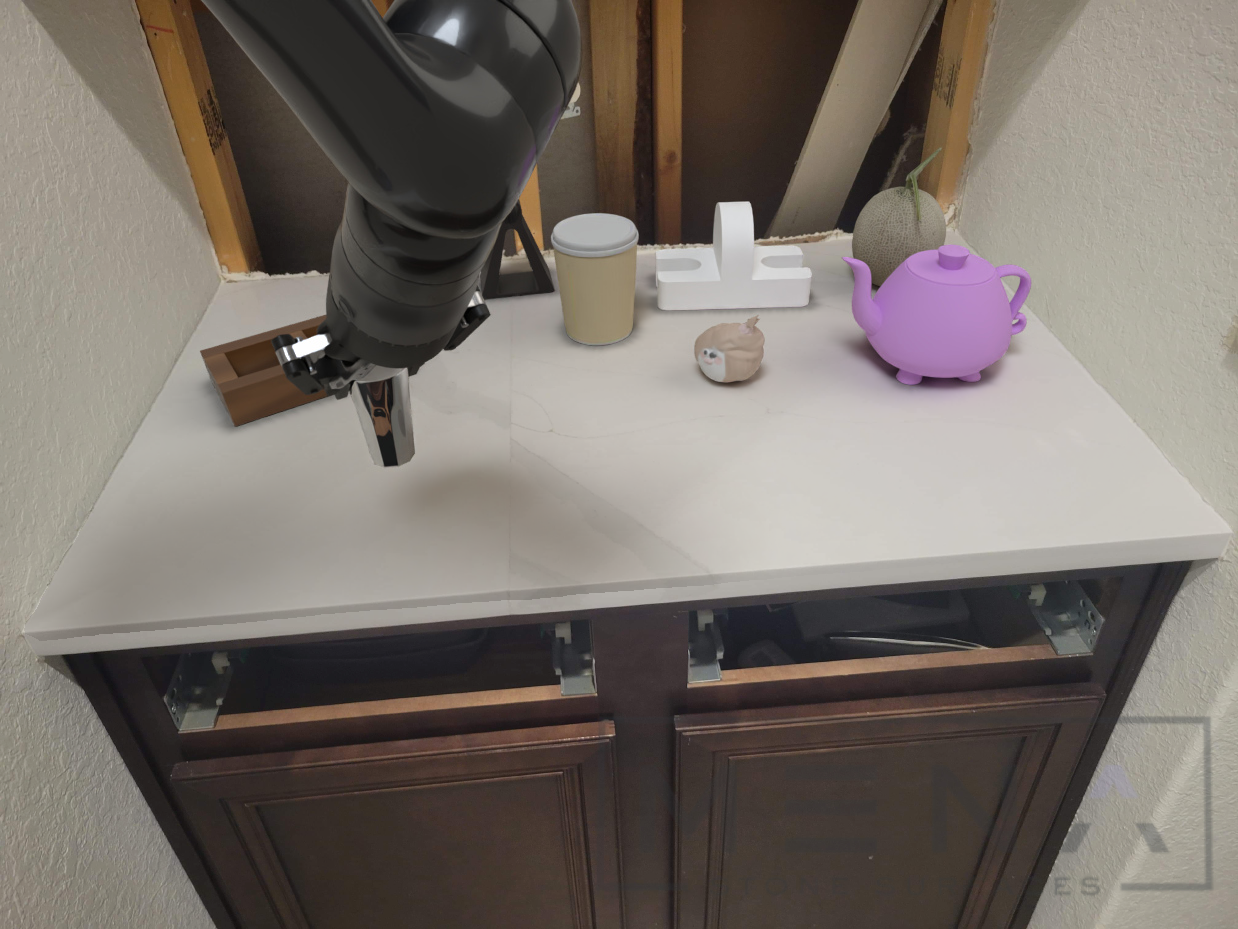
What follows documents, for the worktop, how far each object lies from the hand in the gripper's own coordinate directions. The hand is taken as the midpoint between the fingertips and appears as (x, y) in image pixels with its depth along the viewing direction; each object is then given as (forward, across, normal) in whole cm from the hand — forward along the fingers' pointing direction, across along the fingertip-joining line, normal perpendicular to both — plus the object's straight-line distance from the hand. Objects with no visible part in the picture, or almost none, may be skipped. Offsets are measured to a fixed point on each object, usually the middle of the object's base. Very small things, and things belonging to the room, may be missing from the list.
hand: (371, 374), depth 60 cm
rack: (+30, 0, -10) cm, 31 cm away
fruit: (+15, -66, +5) cm, 68 cm away
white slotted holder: (+22, -49, -2) cm, 54 cm away
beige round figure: (+11, -36, +9) cm, 39 cm away
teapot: (+4, -54, +16) cm, 57 cm away
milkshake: (+3, 0, +6) cm, 7 cm away
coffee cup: (+23, -31, -3) cm, 39 cm away
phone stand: (+34, -29, -14) cm, 47 cm away
